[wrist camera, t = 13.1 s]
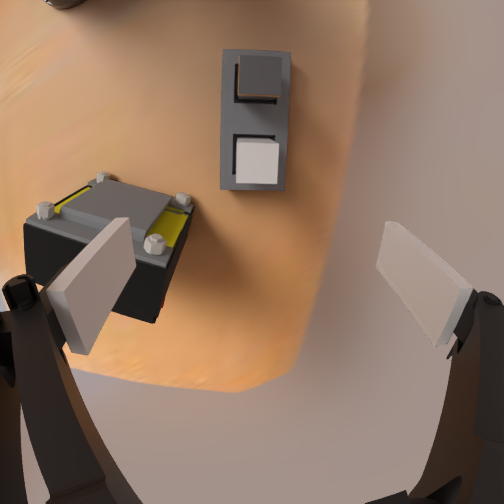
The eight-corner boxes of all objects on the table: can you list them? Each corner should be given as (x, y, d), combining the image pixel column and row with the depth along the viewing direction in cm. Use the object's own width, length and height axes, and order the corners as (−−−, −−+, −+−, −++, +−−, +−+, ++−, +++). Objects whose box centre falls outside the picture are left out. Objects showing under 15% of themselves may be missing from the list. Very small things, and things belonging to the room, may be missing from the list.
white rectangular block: (237, 136, 39) (236, 142, 29) (269, 137, 39) (279, 143, 30) (236, 167, 41) (235, 183, 31) (267, 168, 41) (277, 184, 32)
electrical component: (198, 194, 44) (171, 250, 26) (183, 250, 48) (155, 330, 30) (98, 167, 41) (23, 205, 23) (90, 223, 45) (27, 283, 27)
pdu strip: (224, 55, 34) (222, 49, 31) (286, 58, 35) (291, 52, 31) (221, 183, 43) (220, 189, 40) (281, 184, 44) (285, 190, 40)
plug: (238, 71, 35) (239, 54, 25) (271, 72, 35) (282, 56, 25) (237, 100, 37) (237, 94, 27) (270, 101, 37) (281, 95, 27)
